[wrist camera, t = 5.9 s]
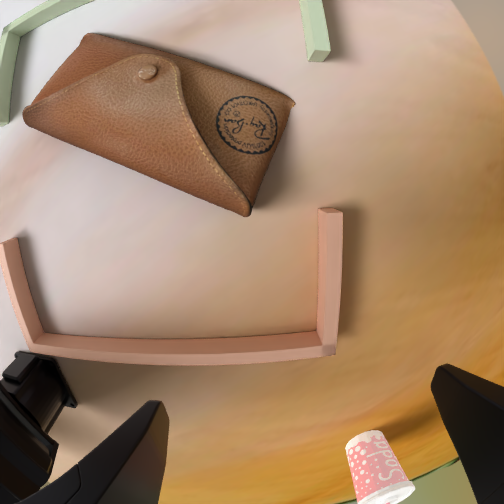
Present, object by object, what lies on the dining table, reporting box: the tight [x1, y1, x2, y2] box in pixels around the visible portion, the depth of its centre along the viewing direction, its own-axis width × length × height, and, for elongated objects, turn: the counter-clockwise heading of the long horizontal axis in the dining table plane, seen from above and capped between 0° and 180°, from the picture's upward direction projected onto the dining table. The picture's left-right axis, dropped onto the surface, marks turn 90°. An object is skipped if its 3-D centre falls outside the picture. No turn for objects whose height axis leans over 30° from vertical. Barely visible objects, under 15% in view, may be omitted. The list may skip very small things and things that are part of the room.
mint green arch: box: [0, 0, 331, 126], centre depth 13 cm, size 10×26×2 cm, turn 94°
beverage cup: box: [345, 430, 415, 504], centre depth 19 cm, size 6×6×14 cm
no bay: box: [0, 208, 343, 366], centre depth 18 cm, size 10×26×2 cm, turn 94°
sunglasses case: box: [23, 33, 295, 217], centre depth 15 cm, size 18×7×7 cm
